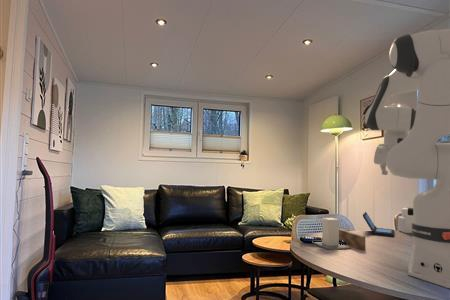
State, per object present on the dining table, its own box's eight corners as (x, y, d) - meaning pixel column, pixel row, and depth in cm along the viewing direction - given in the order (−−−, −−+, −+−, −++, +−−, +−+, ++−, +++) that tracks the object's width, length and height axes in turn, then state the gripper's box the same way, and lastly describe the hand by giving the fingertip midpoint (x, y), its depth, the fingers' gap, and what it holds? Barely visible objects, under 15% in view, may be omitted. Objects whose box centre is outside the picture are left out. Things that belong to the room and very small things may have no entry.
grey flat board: (350, 248, 120) (350, 246, 120) (327, 250, 118) (327, 247, 118) (332, 241, 132) (332, 238, 132) (311, 242, 130) (311, 239, 130)
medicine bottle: (412, 230, 161) (412, 207, 161) (420, 233, 153) (419, 209, 154) (398, 230, 161) (397, 206, 162) (404, 233, 154) (404, 208, 155)
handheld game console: (394, 237, 144) (393, 217, 144) (362, 234, 150) (362, 214, 151) (394, 232, 157) (394, 213, 158) (365, 229, 164) (365, 211, 164)
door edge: (365, 249, 120) (365, 236, 120) (360, 249, 119) (360, 236, 119) (334, 238, 139) (334, 226, 139) (330, 238, 139) (330, 226, 139)
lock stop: (338, 245, 123) (338, 219, 124) (328, 245, 122) (328, 219, 123) (332, 242, 128) (332, 217, 128) (322, 242, 127) (322, 218, 127)
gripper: (371, 143, 141) (369, 173, 139) (409, 138, 121) (407, 174, 120) (383, 145, 143) (380, 175, 141) (422, 141, 123) (420, 176, 121)
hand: (393, 175), depth 130 cm, fingers open, 8 cm apart
